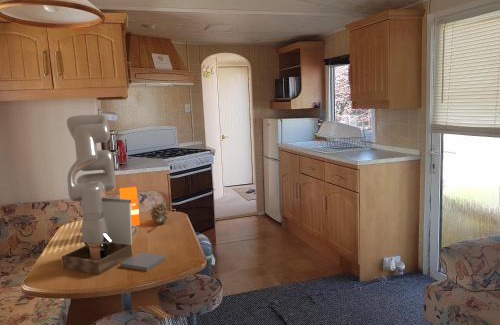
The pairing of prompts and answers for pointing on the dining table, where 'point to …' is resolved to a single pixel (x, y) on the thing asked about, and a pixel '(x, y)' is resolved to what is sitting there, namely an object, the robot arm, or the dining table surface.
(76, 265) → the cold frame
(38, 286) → the dining table surface
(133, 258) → the slate tile
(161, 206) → the pine cone
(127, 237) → the frame lid
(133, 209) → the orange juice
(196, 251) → the dining table surface
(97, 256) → the terracotta pot
